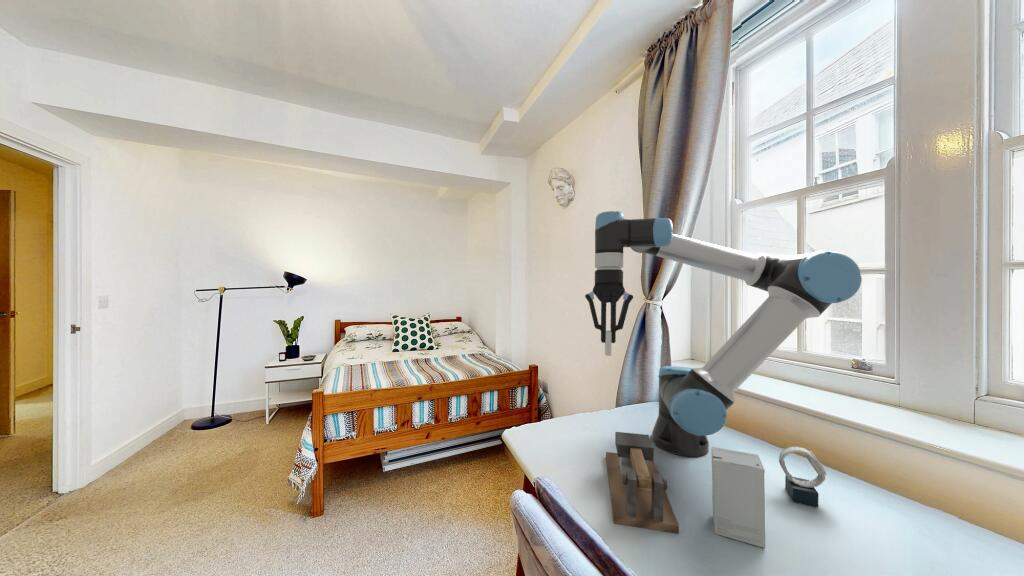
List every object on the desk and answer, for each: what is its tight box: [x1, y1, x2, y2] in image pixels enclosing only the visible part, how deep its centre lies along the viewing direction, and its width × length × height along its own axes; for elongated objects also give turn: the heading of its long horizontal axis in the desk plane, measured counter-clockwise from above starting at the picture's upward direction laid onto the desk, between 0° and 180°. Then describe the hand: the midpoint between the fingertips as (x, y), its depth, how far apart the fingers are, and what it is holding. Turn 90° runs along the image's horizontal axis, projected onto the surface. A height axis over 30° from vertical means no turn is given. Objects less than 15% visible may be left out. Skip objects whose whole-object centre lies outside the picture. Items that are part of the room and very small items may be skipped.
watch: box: [778, 446, 828, 508], centre depth 75 cm, size 6×8×11 cm
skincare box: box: [711, 446, 766, 549], centre depth 64 cm, size 8×6×15 cm
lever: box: [614, 431, 655, 491], centre depth 76 cm, size 8×20×3 cm, turn 167°
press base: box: [605, 451, 680, 534], centre depth 78 cm, size 12×26×9 cm, turn 167°
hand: (608, 354), depth 92 cm, fingers closed
